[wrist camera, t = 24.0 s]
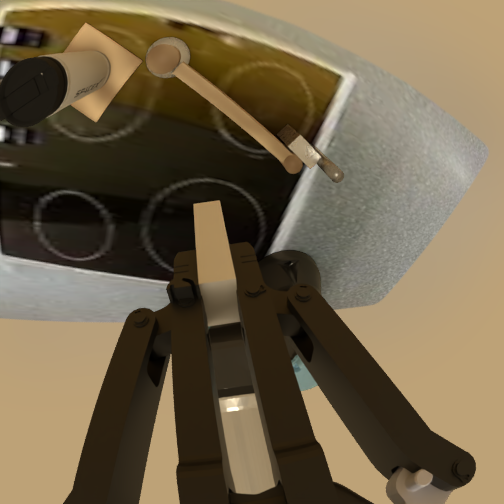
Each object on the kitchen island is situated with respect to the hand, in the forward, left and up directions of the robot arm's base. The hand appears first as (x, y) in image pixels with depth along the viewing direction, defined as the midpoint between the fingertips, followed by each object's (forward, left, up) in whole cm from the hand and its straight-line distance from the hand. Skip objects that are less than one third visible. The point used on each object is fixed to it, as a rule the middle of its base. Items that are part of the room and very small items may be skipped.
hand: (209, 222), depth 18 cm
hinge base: (+4, +9, -29) cm, 31 cm away
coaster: (-4, +17, -29) cm, 34 cm away
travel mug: (-4, +17, -29) cm, 34 cm away
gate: (+4, -2, -28) cm, 28 cm away
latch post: (+7, -14, -29) cm, 33 cm away
